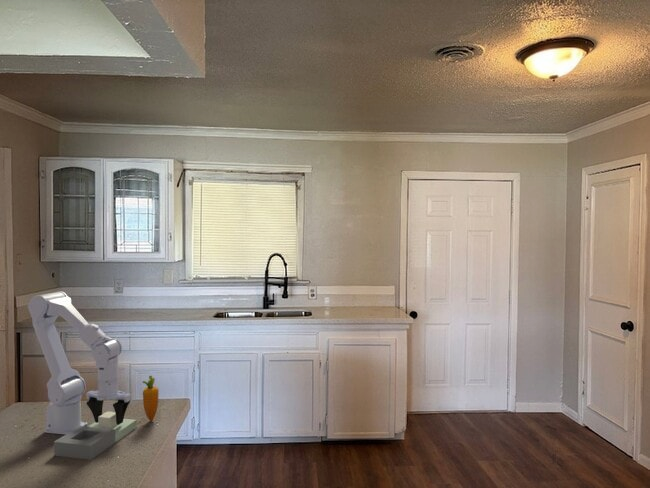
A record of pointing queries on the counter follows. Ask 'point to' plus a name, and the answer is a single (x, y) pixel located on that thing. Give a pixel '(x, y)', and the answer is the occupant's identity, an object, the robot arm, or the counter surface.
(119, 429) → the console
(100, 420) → the peg
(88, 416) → the counter surface
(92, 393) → the robot arm
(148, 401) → the carrot
